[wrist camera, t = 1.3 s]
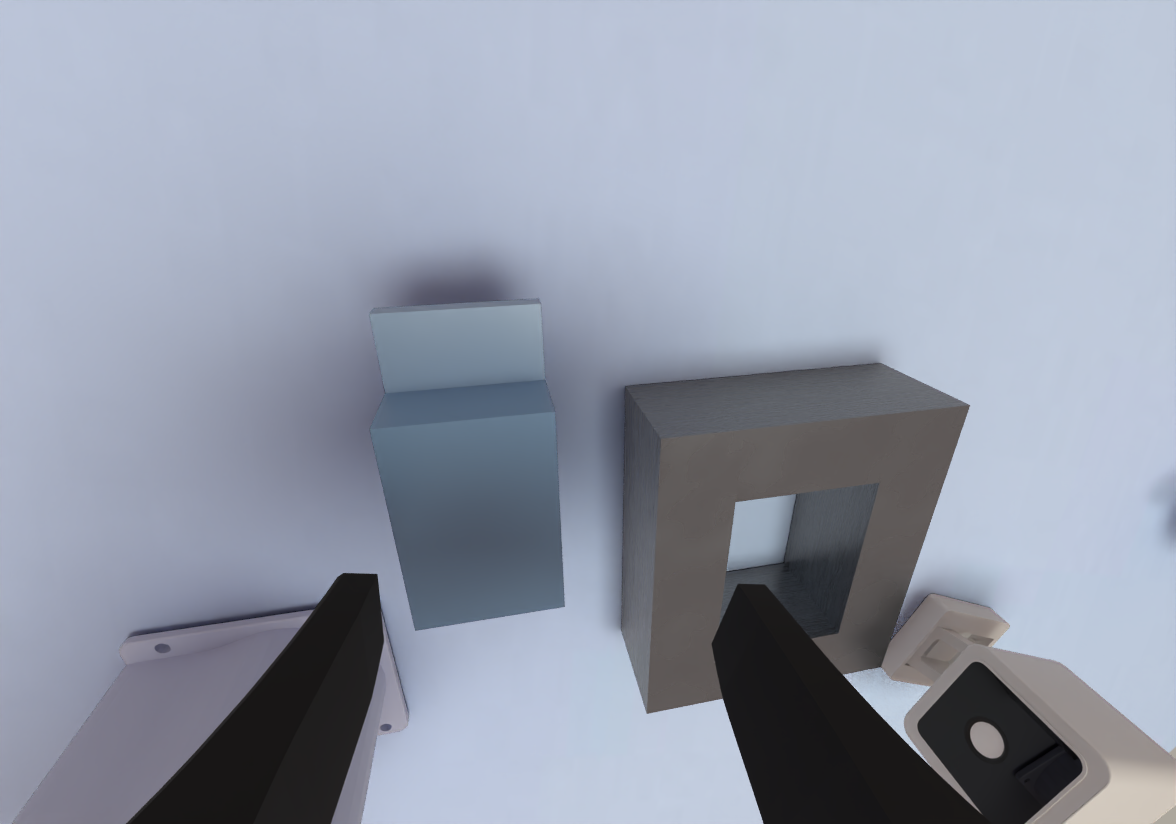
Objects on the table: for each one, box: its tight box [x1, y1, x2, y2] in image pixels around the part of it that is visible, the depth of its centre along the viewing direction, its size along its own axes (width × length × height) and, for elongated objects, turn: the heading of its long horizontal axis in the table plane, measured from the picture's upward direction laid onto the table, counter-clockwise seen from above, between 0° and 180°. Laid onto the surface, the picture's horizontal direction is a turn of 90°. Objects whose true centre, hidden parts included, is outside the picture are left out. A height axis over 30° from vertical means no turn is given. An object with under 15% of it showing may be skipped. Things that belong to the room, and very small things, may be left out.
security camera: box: [881, 594, 1176, 824], centre depth 25 cm, size 6×7×10 cm
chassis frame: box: [621, 363, 970, 714], centre depth 21 cm, size 11×13×4 cm
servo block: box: [369, 298, 565, 631], centre depth 16 cm, size 4×10×7 cm, turn 1°
